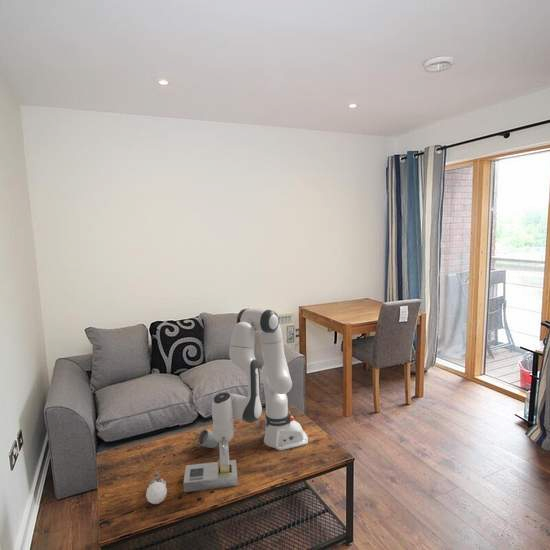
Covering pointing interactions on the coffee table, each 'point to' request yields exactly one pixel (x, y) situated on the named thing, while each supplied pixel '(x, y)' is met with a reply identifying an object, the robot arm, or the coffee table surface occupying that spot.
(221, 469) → the plug
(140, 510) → the coffee table surface
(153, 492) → the geometric ball
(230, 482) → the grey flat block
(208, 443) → the ceramic mug
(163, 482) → the house of cards
